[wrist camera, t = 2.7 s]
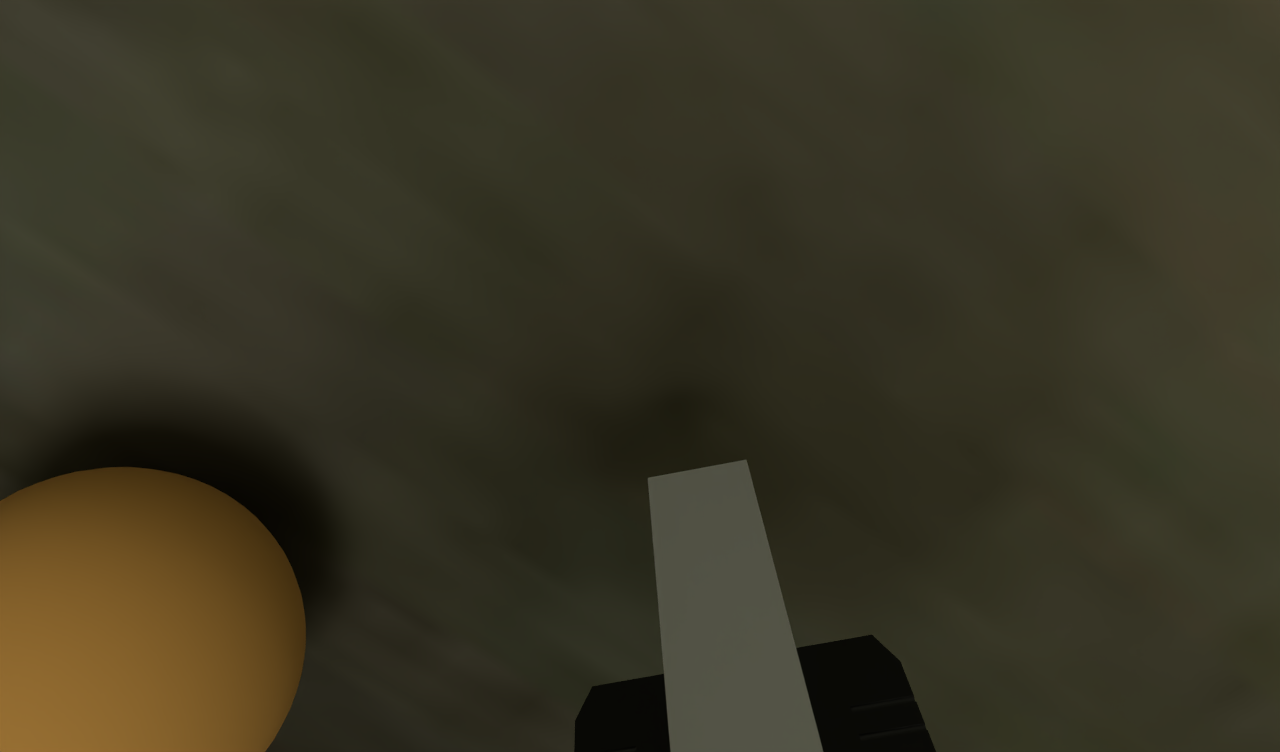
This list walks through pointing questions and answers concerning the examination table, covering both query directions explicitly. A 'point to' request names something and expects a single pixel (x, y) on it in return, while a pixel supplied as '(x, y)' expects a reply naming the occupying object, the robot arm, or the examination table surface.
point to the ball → (143, 618)
